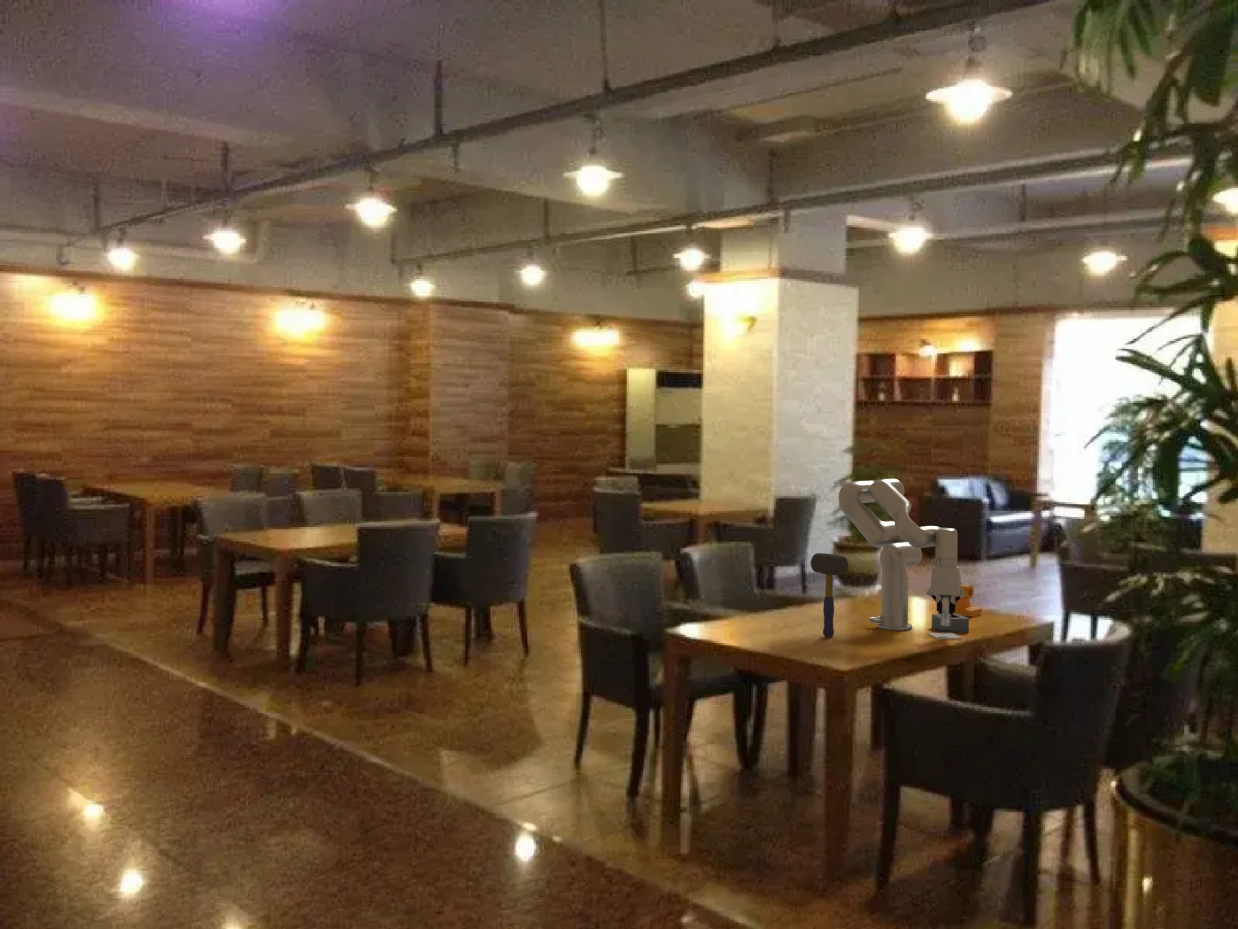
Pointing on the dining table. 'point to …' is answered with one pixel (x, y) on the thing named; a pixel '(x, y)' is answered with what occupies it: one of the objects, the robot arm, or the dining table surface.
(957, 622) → the chuck block
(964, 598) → the bracket
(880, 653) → the dining table surface
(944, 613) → the steel peg
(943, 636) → the pad
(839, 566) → the rubber mallet
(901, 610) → the robot arm
